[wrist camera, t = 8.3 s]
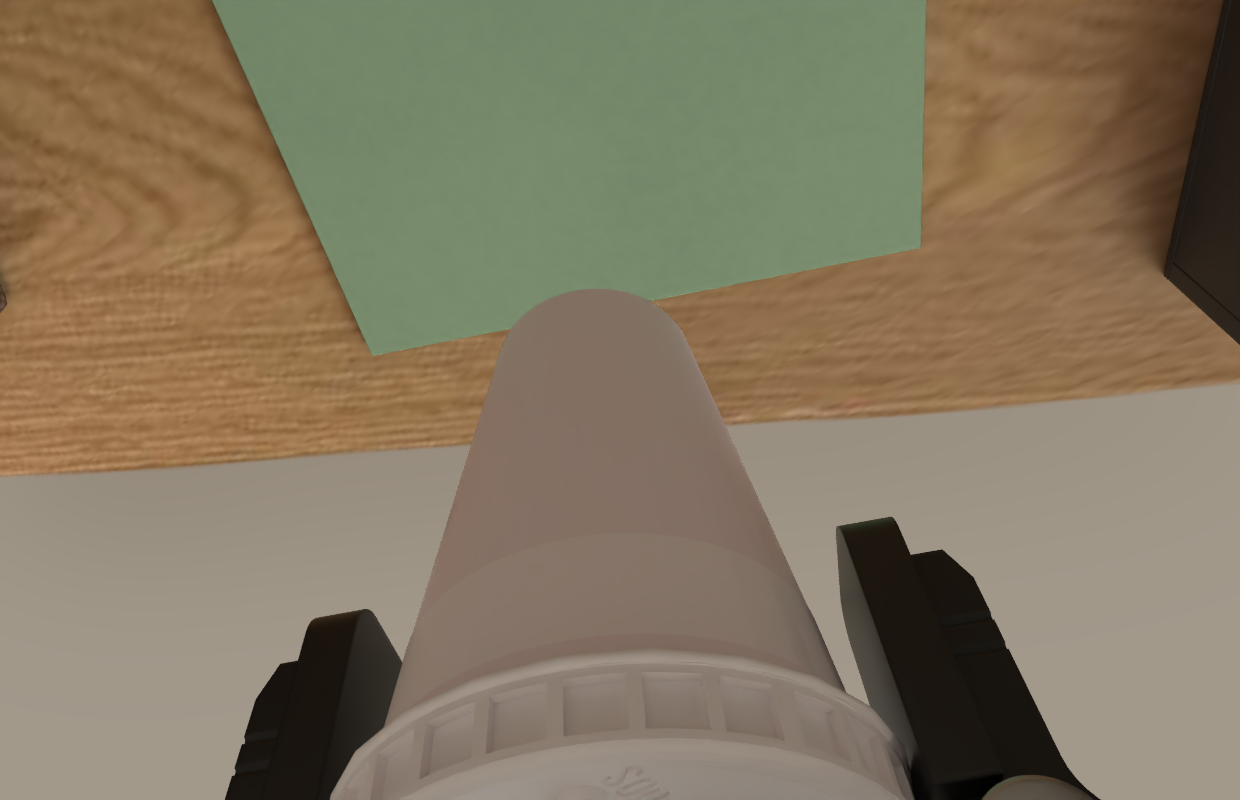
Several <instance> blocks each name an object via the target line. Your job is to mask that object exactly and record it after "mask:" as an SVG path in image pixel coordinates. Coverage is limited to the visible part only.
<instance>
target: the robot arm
mask: <svg viewBox="0 0 1240 800" xmlns="http://www.w3.org/2000/svg"><path fill="white" fill-rule="evenodd" d="M836 540H837V554H838V569H839V584H840V596H841V605H842V611H843V616H844V621H845V626H846V629H847V633H848V637H849V641H850V644H851V647H852V651H853V654H854V657H855V660H856V663H857V666H858V669H859V673H860V675H861V679H862V682H863V685H864V688H865V691H866V694H867V698H868V701H869V704H870V707H872V708H873V710H874V711H875V712H876V713H877V714H878V715H879V717H880V718H881V719H882V720H883V721H884V722H885V724H886V725H887V726H888V727H889V728H890V729H891V731H892V732H893V733H894V734H895V735H896V736H897V738H898V739H899V740H900V741H901V742H902V743H903V745H904V746H905V750H906V754H907V758H908V762H909V767H910V771H911V776H912V792H913V795H914V798H915V800H1100V799H1099V798H1097V797H1096V796H1095V795H1094V794H1092V793H1091V792H1090V791H1089V790H1087V789H1086V788H1085V787H1084V786H1083V785H1082V784H1081V783H1080V782H1079V781H1078V780H1077V779H1076V777H1075V776H1074V775H1073V774H1072V772H1071V771H1070V770H1069V768H1068V767H1067V765H1066V764H1065V762H1064V760H1063V758H1062V757H1061V755H1060V753H1059V751H1058V749H1057V747H1056V745H1055V743H1054V741H1053V739H1052V737H1051V735H1050V733H1049V731H1048V728H1047V726H1046V724H1045V722H1044V720H1043V718H1042V716H1041V714H1040V712H1039V710H1038V708H1037V706H1036V704H1035V702H1034V700H1033V698H1032V696H1031V694H1030V692H1029V690H1028V688H1027V686H1026V683H1025V681H1024V680H1023V677H1022V675H1021V673H1020V671H1019V669H1018V667H1017V665H1016V663H1015V661H1014V659H1013V657H1012V655H1011V653H1010V651H1009V649H1007V648H1006V646H1005V641H1004V639H1003V637H1002V635H1001V632H1000V630H999V628H998V626H997V624H996V622H995V621H994V620H993V619H992V617H991V612H990V610H989V608H988V606H987V604H986V602H985V600H984V598H983V596H982V594H981V592H980V590H979V588H978V586H977V584H976V582H975V579H974V577H973V576H971V575H970V574H969V573H968V572H967V571H966V570H965V569H963V568H962V567H961V566H960V565H959V564H958V563H957V562H956V561H955V560H953V559H952V558H951V557H950V556H949V555H948V554H947V553H946V552H945V551H943V550H937V551H931V552H925V553H920V554H913V555H910V552H909V550H908V548H907V545H906V543H905V541H904V538H903V536H902V534H901V531H900V529H899V527H898V525H897V523H896V521H895V520H894V518H893V517H887V518H881V519H875V520H870V521H864V522H859V523H853V524H847V525H842V526H837V528H836ZM401 666H402V661H401V659H400V658H399V656H398V654H397V652H396V651H395V649H394V647H393V646H392V644H391V642H390V640H389V639H388V637H387V636H386V634H385V632H384V630H383V628H382V627H381V625H380V623H379V622H378V620H377V618H376V616H375V615H374V614H373V612H372V611H370V610H368V609H363V610H358V611H352V612H347V613H341V614H336V615H330V616H324V617H319V618H315V619H313V620H312V621H311V623H310V624H309V626H308V628H307V631H306V634H305V637H304V641H303V644H302V649H301V652H300V656H299V659H298V661H294V662H288V663H283V664H280V665H279V667H278V668H277V670H276V671H275V672H274V674H273V675H272V677H271V678H270V680H269V681H268V683H267V684H266V685H265V687H264V688H263V690H262V691H261V693H260V694H259V696H258V697H257V699H256V701H255V704H254V707H253V710H252V713H251V717H250V720H249V723H248V726H247V730H246V733H245V736H244V738H245V744H242V746H241V749H240V752H239V756H238V759H237V762H236V765H235V770H236V773H235V776H232V778H231V781H230V784H229V788H228V791H227V794H226V797H225V800H330V795H331V793H332V792H333V790H334V788H335V786H336V785H337V783H338V781H339V779H340V778H341V776H342V774H343V772H344V770H345V769H346V767H347V765H348V763H349V762H350V760H351V758H352V756H353V755H354V753H355V751H356V750H357V749H359V748H360V747H361V746H362V745H363V744H365V743H366V742H367V741H368V740H369V739H371V738H372V737H373V736H374V735H375V734H377V733H378V732H379V731H380V730H381V729H383V728H384V725H385V722H386V718H387V715H388V711H389V708H390V704H391V701H392V697H393V694H394V691H395V687H396V684H397V680H398V677H399V673H400V670H401Z"/></svg>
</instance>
